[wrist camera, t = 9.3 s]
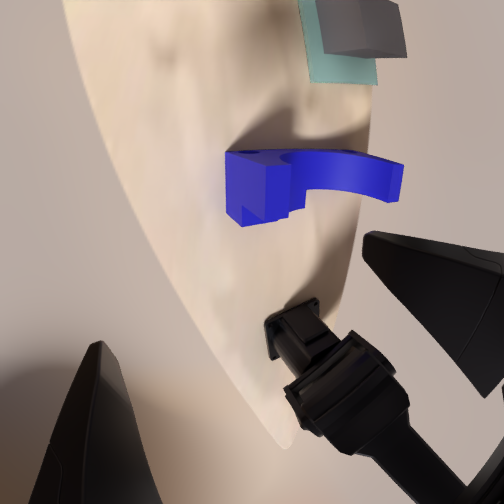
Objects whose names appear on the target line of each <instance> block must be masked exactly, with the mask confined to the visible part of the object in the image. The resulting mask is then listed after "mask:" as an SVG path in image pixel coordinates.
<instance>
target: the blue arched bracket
mask: <svg viewBox="0 0 504 504" xmlns="http://www.w3.org/2000/svg"><path fill="white" fill-rule="evenodd" d="M403 169H404V165H403V164H400V163H397V162H393V161H390V160H387V159H383V158H380V157H377V156H373V155H369V154H366V153H362V152H358V151H354V150H338V149H268V150H245V151H230V152H225V175H226V213H227V214H228V215H229V216H230V217H231V218H232V219H233V220H234V221H236V222H237V223H238V224H239V225H240V226H241V227H245V226H251V225H257V224H263V223H268V222H274V221H278V220H279V219H284V218H288V215H289V212H291V211H294V210H297V209H302V208H305V200H306V190H310V189H329V190H340V191H347V192H353V193H358V194H362V195H367V196H370V197H373V198H376V199H379V200H382V201H384V202H387V203H390V202H398V200H399V194H400V189H401V182H402V176H403Z"/></svg>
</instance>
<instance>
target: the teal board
mask: <svg viewBox="0 0 504 504" xmlns="http://www.w3.org/2000/svg"><path fill="white" fill-rule="evenodd" d="M315 1H316V0H298V5H299V10H300V16H301V21H302V27H303V33H304V39H305V46H306V52H307V59H308V67H309V74H310V82H311V83H350V84H367V85H378V83H377V72H376V63H375V58H371V59H365V58H358V57H350V56H342V55H332V54H324V49H323V43H322V36H321V30H320V25H319V19H318V14H317V9H316V4H315Z"/></svg>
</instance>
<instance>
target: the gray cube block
mask: <svg viewBox="0 0 504 504" xmlns="http://www.w3.org/2000/svg"><path fill="white" fill-rule="evenodd" d="M315 4H316V9H317V14H318V19H319V25H320V30H321V36H322V43H323V49H324V54H332V55H342V56H350V57H358V58H365V59H371V58H407V52H406V45H405V39H404V33H403V27H402V22H401V17H400V12H399V7H398V4H396V3H394V2H391V1H389V0H316V1H315Z"/></svg>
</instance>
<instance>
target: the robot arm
mask: <svg viewBox="0 0 504 504" xmlns="http://www.w3.org/2000/svg"><path fill="white" fill-rule="evenodd" d="M362 257H363V259H364V261H365V262H366V263H367V264H368V265H369V267H370V268H371V269H372V270H373V271H374V273H375V274H376V275H377V276H378V277H379V279H380V280H381V281H382V282H383V284H384V285H385V286H386V287H387V288H388V289H389V290H390V291H391V293H392V294H393V295H394V296H395V297H397V299H398V300H399V301H400V302H401V303H402V304H403V305H404V306H405V307H406V308H407V309H408V310H409V311H410V312H411V314H412V315H413V316H414V317H415V318H416V319H417V320H418V321H419V322H420V323H421V324H422V325H423V326H424V328H425V329H426V330H427V331H428V332H429V333H430V334H431V335H432V337H433V338H434V339H435V340H436V341H437V342H438V343H439V344H440V346H441V347H442V348H443V349H444V350H445V351H446V353H447V354H448V355H449V356H450V357H451V358H452V360H453V361H454V362H455V363H456V365H457V366H458V367H459V368H460V369H461V371H462V372H463V373H464V374H465V376H466V377H467V378H468V379H469V381H470V382H471V383H472V384H473V386H474V387H475V388H476V389H477V391H478V392H479V393H480V395H481V396H482V397H483V398H486V397H487V396H488V395H489V394H490V392H492V390H493V389H494V388H495V387H496V386H497V385H498V384H499V383H500V381H501V380H502V379H503V378H504V253H500V252H493V251H486V250H481V249H476V248H470V247H465V246H460V245H455V244H449V243H444V242H438V241H433V240H427V239H422V238H416V237H411V236H405V235H398V234H392V233H386V232H380V231H371V232H368V233H366V234H365V235H364V237H363V247H362ZM264 330H265V336H266V342H267V348H268V355H269V358H270V360H272V361H273V360H276V359H278V358H280V357H281V358H282V360H283V361H284V362H285V364H286V365H287V366H288V368H289V369H290V370H291V372H292V373H293V374H294V376H295V377H296V378H297V379H296V380H295V381H293V382H292V383H291V384H289V385H287V386H285V387H284V388H283V389H284V391H285V393H286V395H285V397H286V399H287V400H288V402H289V403H290V405H291V406H292V408H293V410H294V412H295V414H296V417H297V419H298V422H299V424H300V427H301V428H302V429H303V430H309V431H311V432H312V433H313V434H315V435H316V436H318V437H322V436H323V435H324V436H325V437H326V438H327V440H328V441H329V442H330V443H331V444H332V445H333V446H334V447H335V448H336V449H337V450H338V451H339V452H341V453H344V454H347V455H350V456H352V455H353V454H358V455H362V456H367V457H371V458H372V459H373V460H374V461H375V462H376V463H377V464H378V465H379V466H380V467H381V468H382V469H383V470H384V471H385V472H386V473H387V474H388V475H389V477H391V479H392V480H393V481H394V482H395V483H396V484H397V485H398V486H399V487H400V488H401V489H402V490H403V491H404V492H405V493H406V494H407V495H408V496H409V497H410V498H411V499H412V500H413V501H414V502H415V503H416V504H504V437H503V439H502V440H501V442H500V444H499V445H498V447H497V448H496V449H495V451H494V452H493V454H492V455H491V457H490V458H489V459H488V461H487V462H486V463H485V465H484V466H483V468H482V469H481V470H480V471H479V473H478V474H477V475H476V477H475V478H474V479H473V480H472V481H471V483H470V484H469V485H468V486H466V485H465V484H464V483H463V482H462V481H461V480H460V479H459V478H458V477H457V476H456V474H455V473H454V472H453V471H452V470H451V469H450V468H449V467H448V466H447V465H446V464H445V463H444V461H443V460H442V459H441V458H440V457H439V456H438V455H437V454H436V453H435V452H434V451H433V450H432V449H431V447H430V446H429V445H428V444H427V443H426V442H425V441H424V440H423V439H422V438H421V437H420V435H419V434H418V433H417V432H416V431H415V430H414V429H413V428H412V427H411V426H410V422H409V413H408V407H409V406H410V402H409V398H408V394H407V393H406V391H405V390H404V388H403V387H402V386H401V385H400V384H399V382H397V380H396V379H395V378H394V377H393V375H394V374H395V373H396V370H395V368H394V367H393V366H392V364H391V363H390V362H389V361H388V359H387V358H386V357H385V356H384V355H383V354H382V353H381V352H380V351H379V350H377V349H376V348H375V347H374V346H372V345H371V344H370V343H369V342H367V341H366V340H365V339H363V338H362V337H361V336H360V335H358V334H357V333H356V332H355V331H353V330H351V331H350V332H349V333H348V335H347V336H346V337H345V338H344V339H343V340H342V341H341V340H340V339H339V338H338V337H337V336H336V335H335V334H334V333H333V332H332V331H331V330H330V329H329V328H328V326H327V325H326V324H325V323H324V322H323V321H322V320H321V319H320V318H319V300H318V299H317V298H313V299H311V300H309V301H307V302H305V303H303V304H301V305H299V306H297V307H295V308H293V309H291V310H289V311H286V312H284V313H282V314H280V315H278V316H276V317H274V318H271V319H269V320H267V321H266V322H265V323H264ZM502 393H503V400H504V384H503V386H502ZM28 504H163V503H162V501H161V498H160V496H159V493H158V490H157V488H156V485H155V483H154V480H153V477H152V474H151V471H150V468H149V465H148V462H147V458H146V455H145V452H144V449H143V445H142V442H141V438H140V434H139V431H138V427H137V423H136V418H135V415H134V411H133V407H132V404H131V401H130V398H129V395H128V392H127V389H126V386H125V383H124V379H123V376H122V373H121V369H120V366H119V363H118V360H117V359H116V357H115V356H114V354H113V353H112V352H111V350H110V349H109V347H108V346H107V345H106V344H105V342H104V341H98V342H95V343H92V344H90V346H89V347H88V349H87V352H86V354H85V356H84V358H83V360H82V362H81V365H80V366H79V368H78V371H77V373H76V375H75V377H74V380H73V382H72V384H71V387H70V389H69V391H68V394H67V396H66V399H65V401H64V403H63V406H62V408H61V411H60V414H59V416H58V419H57V422H56V424H55V427H54V430H53V433H52V435H51V438H50V444H48V447H47V450H46V453H45V456H44V459H43V462H42V465H41V468H40V472H39V474H38V477H37V480H36V483H35V485H34V488H33V491H32V494H31V497H30V500H29V503H28Z"/></svg>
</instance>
